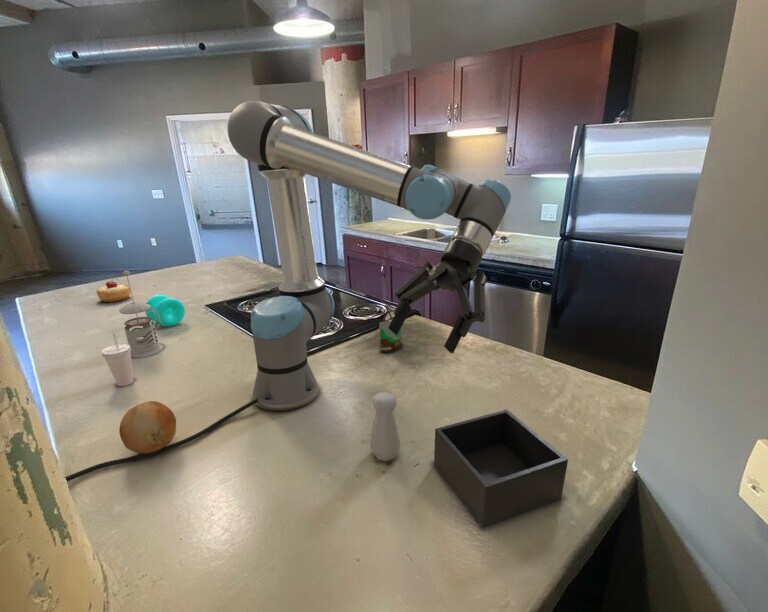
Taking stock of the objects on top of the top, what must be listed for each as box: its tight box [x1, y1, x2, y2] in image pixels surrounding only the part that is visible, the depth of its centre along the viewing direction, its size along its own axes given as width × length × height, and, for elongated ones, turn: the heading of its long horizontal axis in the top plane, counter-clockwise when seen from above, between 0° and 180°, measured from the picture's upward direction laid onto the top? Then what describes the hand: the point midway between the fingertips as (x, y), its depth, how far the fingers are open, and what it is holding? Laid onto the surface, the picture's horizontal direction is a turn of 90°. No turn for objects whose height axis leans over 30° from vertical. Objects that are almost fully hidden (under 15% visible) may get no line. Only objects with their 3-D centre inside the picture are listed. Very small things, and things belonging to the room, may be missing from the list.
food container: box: [378, 308, 405, 353], centre depth 125 cm, size 12×6×10 cm, turn 168°
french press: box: [118, 270, 164, 358], centre depth 123 cm, size 10×12×25 cm
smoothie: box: [101, 331, 134, 387], centre depth 106 cm, size 6×6×14 cm
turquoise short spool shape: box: [144, 294, 186, 327], centre depth 146 cm, size 10×10×10 cm
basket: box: [433, 409, 569, 529], centre depth 72 cm, size 16×16×8 cm
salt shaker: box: [369, 391, 401, 462], centre depth 78 cm, size 6×6×13 cm
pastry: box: [95, 277, 131, 303], centre depth 174 cm, size 12×12×9 cm
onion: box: [119, 400, 177, 454], centre depth 82 cm, size 10×10×10 cm
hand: (418, 340), depth 79 cm, fingers open, 13 cm apart
